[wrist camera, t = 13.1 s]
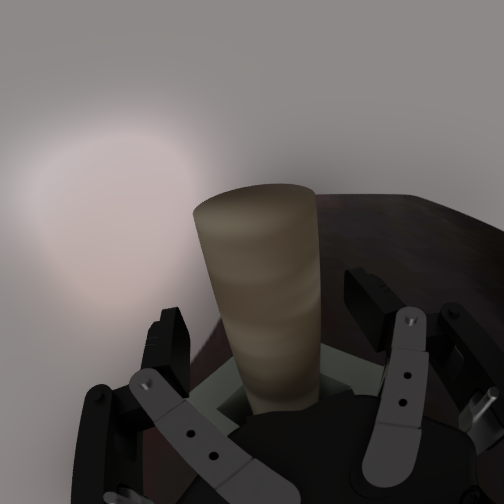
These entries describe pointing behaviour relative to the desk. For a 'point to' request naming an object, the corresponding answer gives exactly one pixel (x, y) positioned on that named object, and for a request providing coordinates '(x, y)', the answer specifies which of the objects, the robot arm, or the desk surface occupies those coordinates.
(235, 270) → the peg
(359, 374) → the socket
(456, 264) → the desk surface
